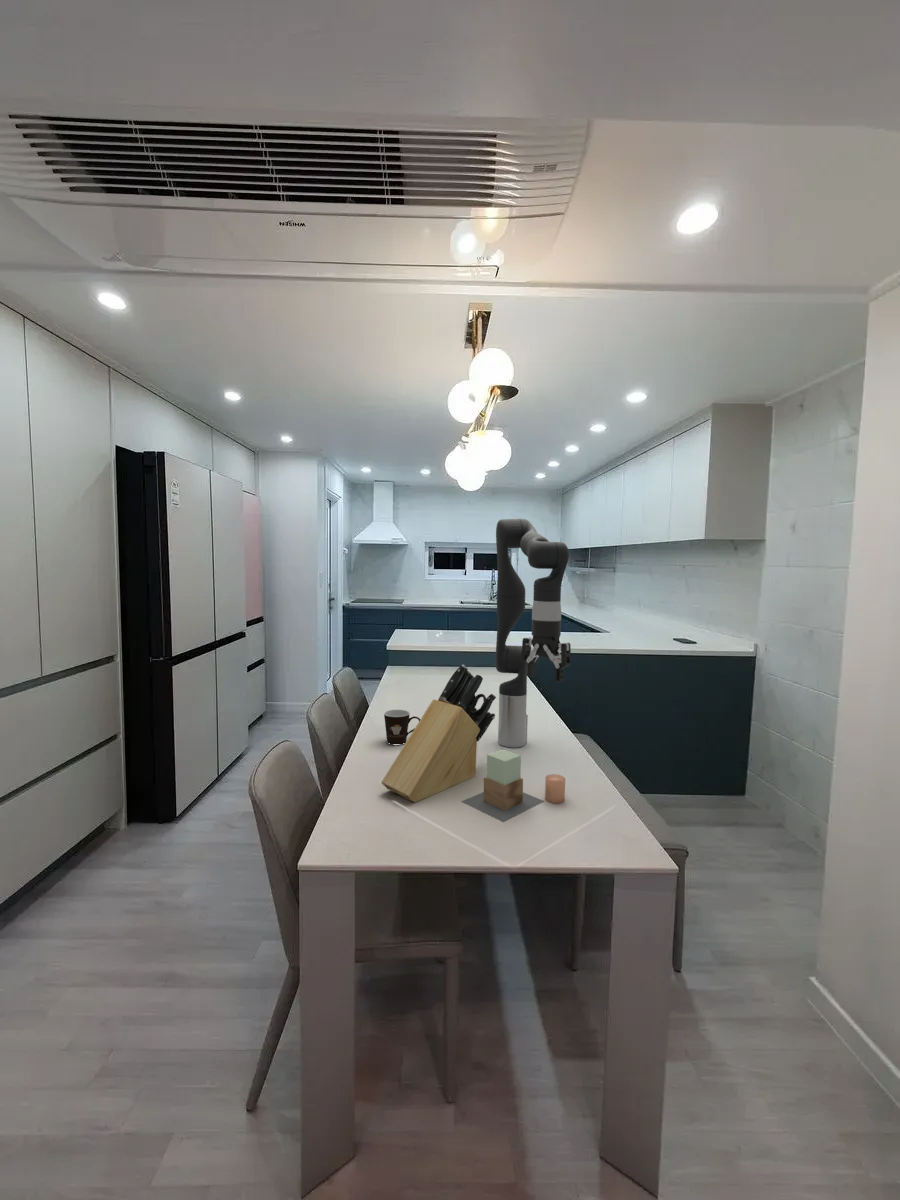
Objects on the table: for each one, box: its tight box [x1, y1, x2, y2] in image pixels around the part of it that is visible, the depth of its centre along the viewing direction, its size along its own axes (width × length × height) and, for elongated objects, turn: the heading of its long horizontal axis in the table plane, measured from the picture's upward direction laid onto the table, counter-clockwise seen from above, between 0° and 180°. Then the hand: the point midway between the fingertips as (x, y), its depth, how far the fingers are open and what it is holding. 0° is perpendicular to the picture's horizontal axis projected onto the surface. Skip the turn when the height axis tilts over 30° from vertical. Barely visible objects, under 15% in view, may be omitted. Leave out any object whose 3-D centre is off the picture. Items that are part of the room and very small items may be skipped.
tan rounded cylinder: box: [544, 773, 566, 805], centre depth 133 cm, size 5×5×6 cm
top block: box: [486, 748, 522, 785], centre depth 130 cm, size 6×6×6 cm
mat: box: [460, 791, 545, 823], centre depth 131 cm, size 16×14×1 cm
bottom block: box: [483, 776, 524, 811], centre depth 131 cm, size 7×7×6 cm
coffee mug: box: [383, 709, 421, 745], centre depth 174 cm, size 12×9×10 cm
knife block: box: [381, 664, 497, 803], centre depth 143 cm, size 11×35×31 cm, turn 137°
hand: (544, 679), depth 136 cm, fingers open, 8 cm apart
